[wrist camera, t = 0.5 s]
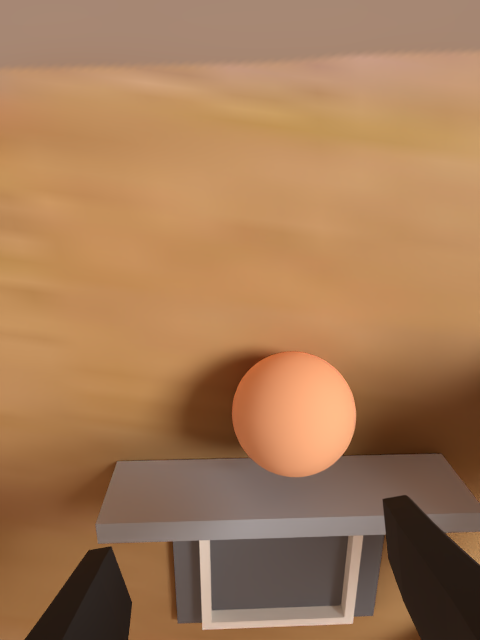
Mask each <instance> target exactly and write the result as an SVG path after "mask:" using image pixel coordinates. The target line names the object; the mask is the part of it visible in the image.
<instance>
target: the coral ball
mask: <svg viewBox="0 0 480 640" xmlns="http://www.w3.org/2000/svg"><path fill="white" fill-rule="evenodd" d="M232 421H233V426H234V431H235V434H236V436H237V439H238V441H239V443H240V445H241V446H242V448H243V449H244V451H245V452H246V453H247V455H248V456H249V457H250V458H251V459H252V460H253V461H254V462H255V463H257V464H258V465H259V466H261V467H262V468H264V469H266V470H267V471H269V472H272V473H275V474H277V475H281V476H286V477H305V476H310V475H313V474H317V473H319V472H321V471H323V470H325V469H327V468H329V467H330V466H331V465H333V464H334V463H335V462H336V461H337V460H338V459H339V458H340V457H341V456H342V455H343V453H344V452H345V451H346V449H347V448H348V446H349V444H350V442H351V439H352V437H353V433H354V430H355V424H356V408H355V402H354V398H353V395H352V392H351V390H350V388H349V386H348V384H347V382H346V381H345V379H344V378H343V376H342V375H341V374H340V373H339V372H338V371H337V369H335V368H334V367H333V366H332V365H331V364H329V363H328V362H326V361H325V360H323V359H321V358H319V357H317V356H314V355H311V354H308V353H304V352H295V351H290V352H281V353H277V354H274V355H271V356H268V357H266V358H264V359H262V360H261V361H259V362H258V363H256V364H255V365H254V366H253V367H251V369H250V370H249V371H248V372H247V373H246V374H245V375H244V377H243V378H242V379H241V381H240V383H239V385H238V387H237V390H236V392H235V395H234V399H233V406H232Z"/></svg>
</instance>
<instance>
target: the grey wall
mask: <svg viewBox="0 0 480 640" xmlns="http://www.w3.org/2000/svg"><path fill="white" fill-rule="evenodd" d="M402 495H407V496H408V497H410V498H411V499H412V500H413V501H414V502H415V503H416V504H417V506H418V507H419V508H420V509H421V510H422V511H423V512H424V513H425V514H426V515H427V516H428V517H429V518H430V519H431V520H432V521H433V522H434V523H435V524H436V525H437V526H438V527H439V528H440V529H441V530H442V531H443V532H444V533H452V532H480V503H479V502H478V501H477V499H476V498H475V497H474V495H473V494H472V493H471V492H470V490H469V489H468V488H467V486H466V485H465V484H464V482H463V481H462V480H461V479H460V477H459V476H458V475H457V473H456V472H455V471H454V469H453V468H452V467H451V466H450V464H449V463H448V462H447V460H446V459H445V458H444V456H443V455H442V454H441V453H440V454H398V455H357V456H341V457H340V458H339V459H338V460H337V461H336V462H335V463H334V464H333V465H331V466H330V467H329V468H327V469H325V470H323V471H321V472H319V473H317V474H313V475H310V476H305V477H286V476H281V475H277V474H275V473H272V472H269V471H267V470H266V469H264V468H262V467H261V466H259V465H258V464H257V463H255V462H254V461H253V460H252V459H251V458H231V459H190V460H148V461H117V464H116V466H115V469H114V472H113V475H112V478H111V481H110V484H109V487H108V489H107V492H106V495H105V498H104V501H103V504H102V507H101V510H100V513H99V515H98V518H97V521H96V532H97V539H98V544H102V543H134V542H166V541H198V540H229V539H261V538H293V537H325V536H357V535H386V530H385V520H384V510H383V501H382V499H385V498H390V497H396V496H402Z"/></svg>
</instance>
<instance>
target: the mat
mask: <svg viewBox="0 0 480 640" xmlns="http://www.w3.org/2000/svg"><path fill="white" fill-rule="evenodd" d="M383 541H384V535H357V536H325V537H293V538H261V539H229V540H198V541H173V552H174V569H175V586H176V603H177V620H178V623H202V630H208V629H233V628H259V627H284V626H309V625H334V624H353V617H356V616H373V613H374V606H375V599H376V592H377V584H378V577H379V570H380V563H381V556H382V549H383Z"/></svg>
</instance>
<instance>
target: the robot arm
mask: <svg viewBox="0 0 480 640" xmlns="http://www.w3.org/2000/svg"><path fill="white" fill-rule="evenodd" d="M382 501H383V510H384V520H385V530H386V540H387V550H388V559H389V562H390V565H391V567H392V570H393V573H394V576H395V579H396V582H397V585H398V587H399V590H400V593H401V596H402V598H403V601H404V603H405V605H406V608H407V610H408V612H409V614H410V616H411V618H412V621H413V623H414V625H415V627H416V629H417V631H418V633H419V636H420V638H421V640H480V565H479V564H478V563H477V562H476V561H475V560H474V559H472V558H471V557H470V556H469V555H468V554H467V553H466V552H465V551H464V550H462V549H461V548H460V547H459V546H458V545H457V544H456V543H455V542H454V541H453V540H452V539H451V538H449V537H448V536H447V535H446V534H445V533H444V532H443V531H442V530H441V529H440V528H439V527H438V526H437V525H436V524H435V523H434V522H433V521H432V520H431V519H430V518H429V517H428V516H427V515H426V514H425V513H424V512H423V511H422V510H421V509H420V508H419V507H418V506H417V504H416V503H415V502H414V501H413V500H412V499H411V498H410V497H408V496H407V495H402V496H396V497H390V498H385V499H382ZM131 607H132V601H131V598H130V596H129V593H128V590H127V588H126V585H125V582H124V580H123V577H122V574H121V571H120V569H119V566H118V563H117V561H116V558H115V555H114V553H113V550H112V547H105V548H99V549H94V550H89V551H88V552H87V554H86V555H85V556H84V558H83V559H82V561H81V562H80V563H79V565H78V566H77V567H76V569H75V570H74V572H73V573H72V575H71V576H70V577H69V579H68V580H67V582H66V583H65V585H64V586H63V587H62V589H61V590H60V592H59V593H58V594H57V596H56V597H55V599H54V600H53V601H52V603H51V604H50V606H49V607H48V608H47V610H46V611H45V613H44V614H43V615H42V617H41V618H40V619H39V621H38V622H37V623H36V625H35V626H34V628H33V629H32V630H31V632H30V633H29V634H28V636H27V637H26V638H25V640H128V635H129V627H130V617H131Z"/></svg>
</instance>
